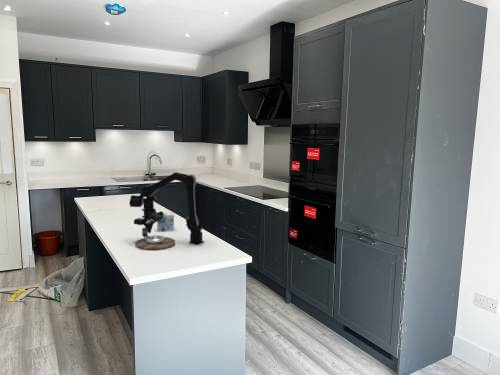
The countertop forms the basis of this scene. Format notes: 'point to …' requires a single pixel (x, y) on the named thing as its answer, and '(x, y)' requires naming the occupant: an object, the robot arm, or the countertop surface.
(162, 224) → the light bulb box
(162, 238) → the dial
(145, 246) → the dial base plate
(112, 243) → the countertop surface
